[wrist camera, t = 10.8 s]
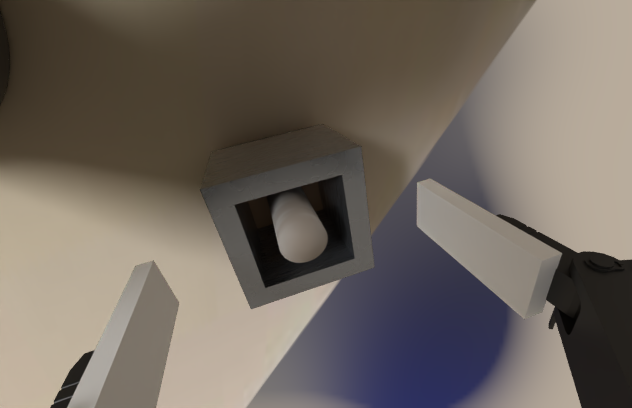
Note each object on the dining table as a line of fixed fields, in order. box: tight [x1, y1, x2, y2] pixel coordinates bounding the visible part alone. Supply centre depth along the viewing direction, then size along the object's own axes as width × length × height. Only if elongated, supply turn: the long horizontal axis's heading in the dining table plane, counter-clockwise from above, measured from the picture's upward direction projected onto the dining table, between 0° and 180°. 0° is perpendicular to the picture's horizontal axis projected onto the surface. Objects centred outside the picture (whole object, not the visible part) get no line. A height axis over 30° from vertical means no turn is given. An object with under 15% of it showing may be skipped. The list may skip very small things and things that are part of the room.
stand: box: [248, 181, 328, 263], centre depth 18 cm, size 7×7×9 cm
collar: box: [200, 124, 374, 309], centre depth 18 cm, size 8×8×7 cm
